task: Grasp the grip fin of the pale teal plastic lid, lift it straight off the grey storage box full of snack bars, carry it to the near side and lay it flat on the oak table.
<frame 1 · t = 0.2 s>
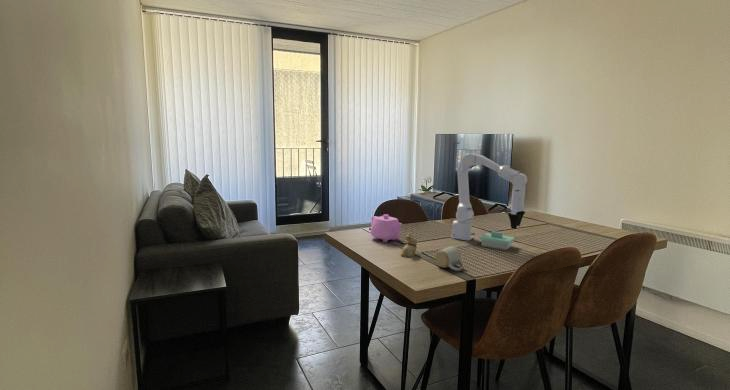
hand: (515, 227, 187), 10 cm above the table, fingers open, 7 cm apart
ceramic mug: (450, 267, 157), on the table
chocolate bunny: (408, 255, 173), on the table
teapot: (385, 240, 197), on the table
box: (496, 246, 189), on the table
lid: (496, 239, 189), point 3 cm above the table, touching box
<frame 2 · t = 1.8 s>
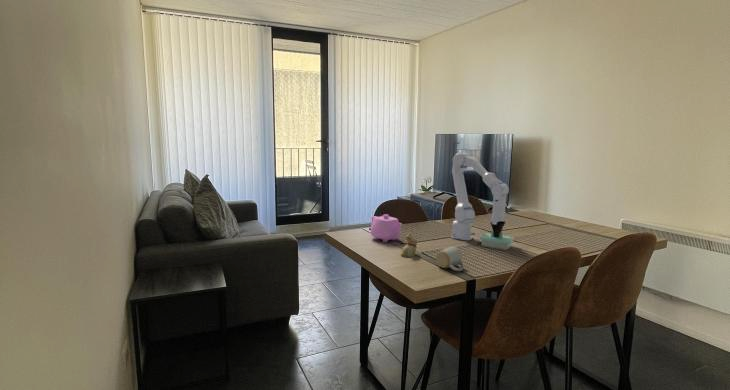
hand: (496, 236, 189), 5 cm above the table, fingers closed on lid, 2 cm apart
lid: (496, 239, 189), point 3 cm above the table, touching box, gripper
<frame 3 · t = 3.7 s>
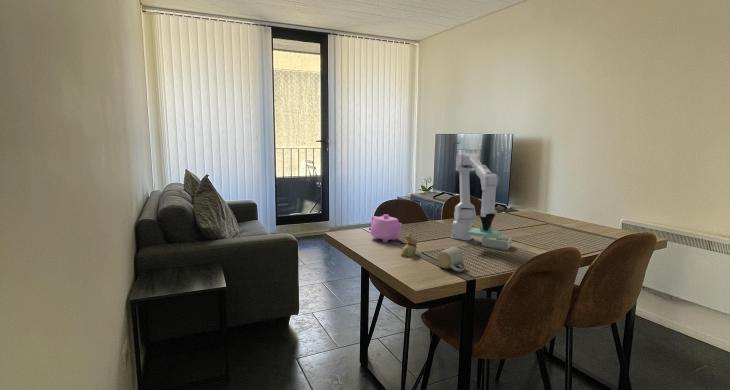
hand: (486, 229, 179), 10 cm above the table, fingers closed on lid
lid: (485, 234, 179), point 8 cm above the table, touching gripper
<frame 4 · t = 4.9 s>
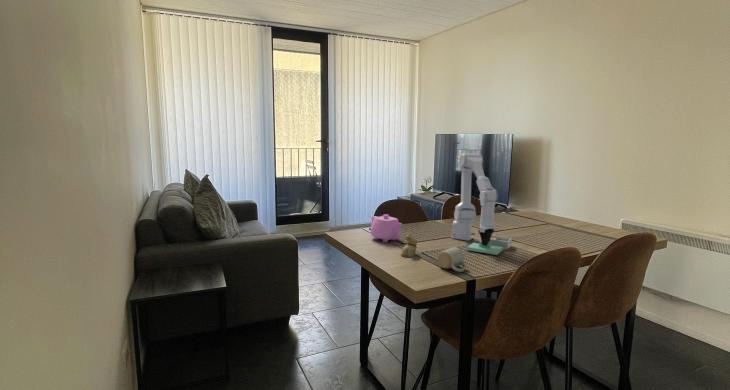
hand: (485, 244, 180), 3 cm above the table, fingers closed on lid, 2 cm apart
lid: (484, 249, 180), point 1 cm above the table, touching gripper
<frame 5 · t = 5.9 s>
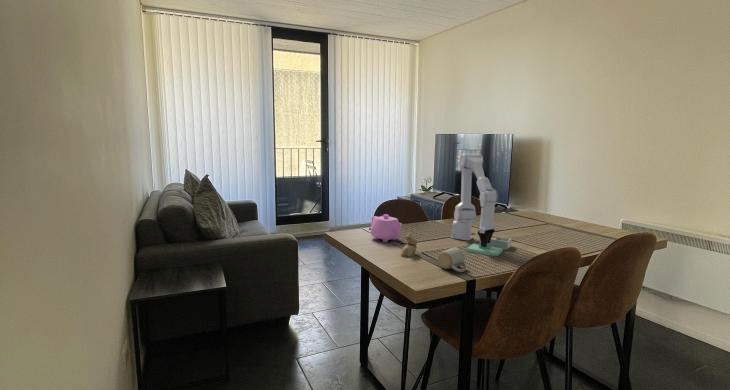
hand: (485, 245, 180), 3 cm above the table, fingers open, 4 cm apart
lid: (484, 251, 180), on the table
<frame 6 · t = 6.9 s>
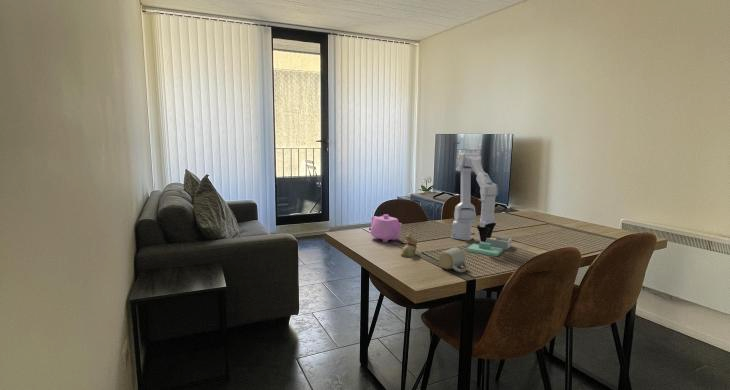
hand: (485, 239, 180), 6 cm above the table, fingers open, 7 cm apart
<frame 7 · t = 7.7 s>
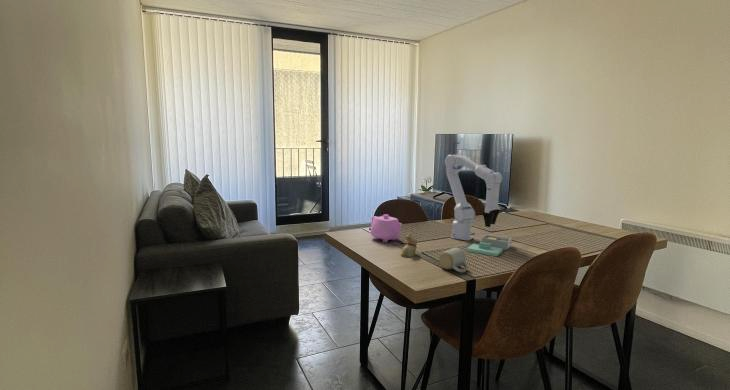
hand: (490, 225, 189), 10 cm above the table, fingers open, 7 cm apart
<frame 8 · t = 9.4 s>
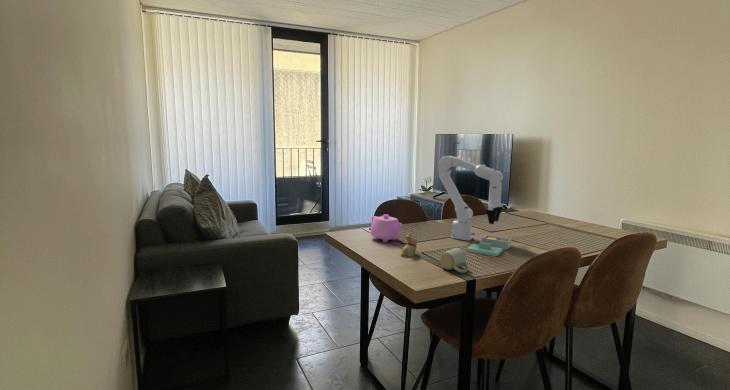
hand: (493, 222, 195), 10 cm above the table, fingers open, 7 cm apart
at the end: lid inside the target area (0.5 cm from its centre), on the table; lid tilted 0°; lid touching table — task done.
